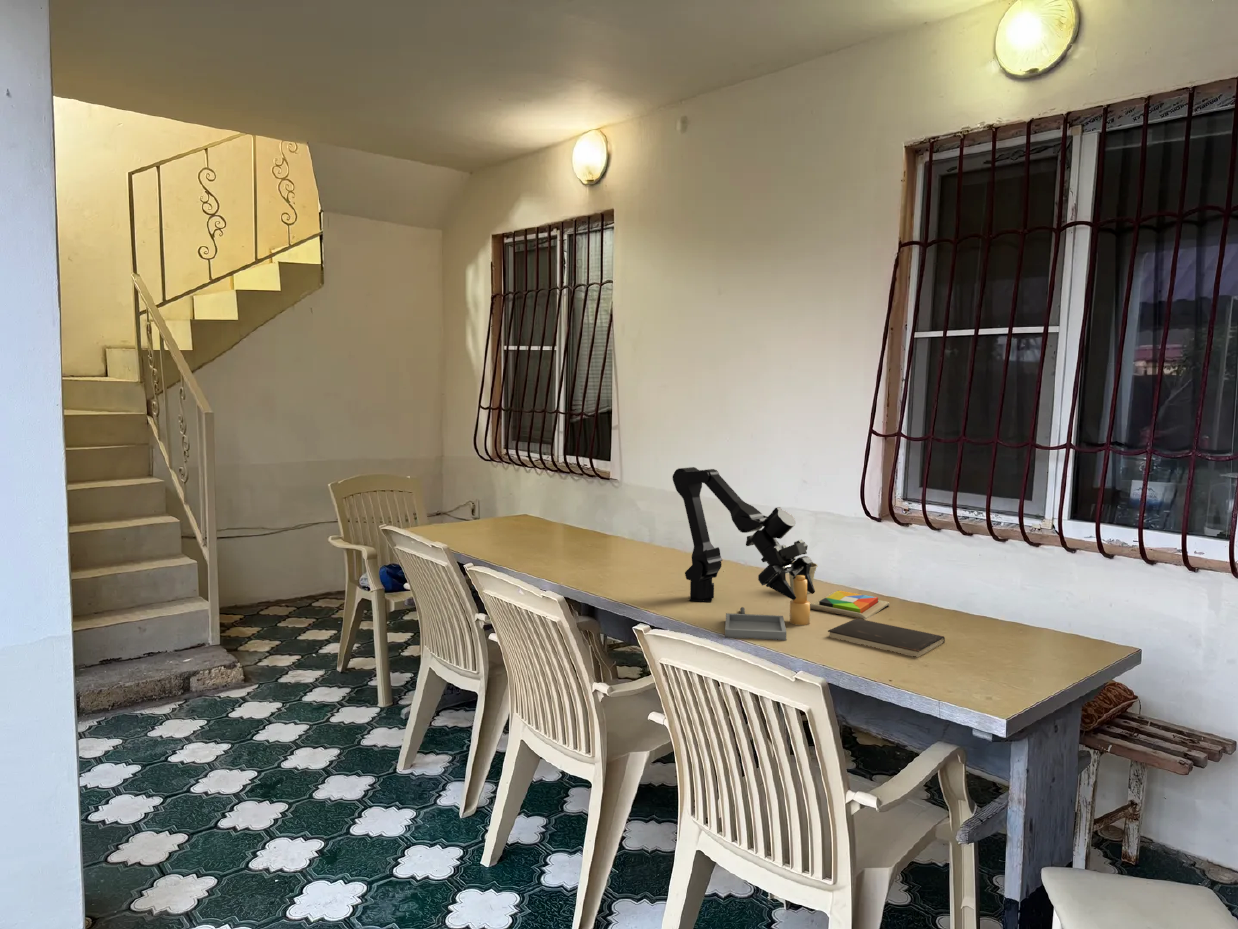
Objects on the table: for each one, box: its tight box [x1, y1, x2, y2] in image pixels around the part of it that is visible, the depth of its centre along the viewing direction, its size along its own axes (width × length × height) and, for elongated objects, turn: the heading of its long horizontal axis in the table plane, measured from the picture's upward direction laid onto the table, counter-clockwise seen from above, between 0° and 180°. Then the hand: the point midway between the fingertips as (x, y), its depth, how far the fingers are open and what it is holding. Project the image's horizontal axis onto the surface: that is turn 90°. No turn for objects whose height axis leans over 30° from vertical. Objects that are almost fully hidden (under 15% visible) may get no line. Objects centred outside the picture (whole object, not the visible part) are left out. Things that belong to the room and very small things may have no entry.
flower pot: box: [788, 561, 819, 595], centre depth 249 cm, size 9×9×9 cm
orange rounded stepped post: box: [789, 575, 811, 626], centre depth 216 cm, size 5×5×12 cm
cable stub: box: [739, 606, 746, 614], centre depth 222 cm, size 1×10×1 cm, turn 172°
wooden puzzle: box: [810, 590, 891, 620], centre depth 232 cm, size 18×19×4 cm
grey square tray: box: [724, 612, 787, 641], centre depth 209 cm, size 15×15×2 cm
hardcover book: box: [827, 617, 946, 658], centre depth 201 cm, size 16×23×2 cm
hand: (804, 596), depth 215 cm, fingers open, 9 cm apart
